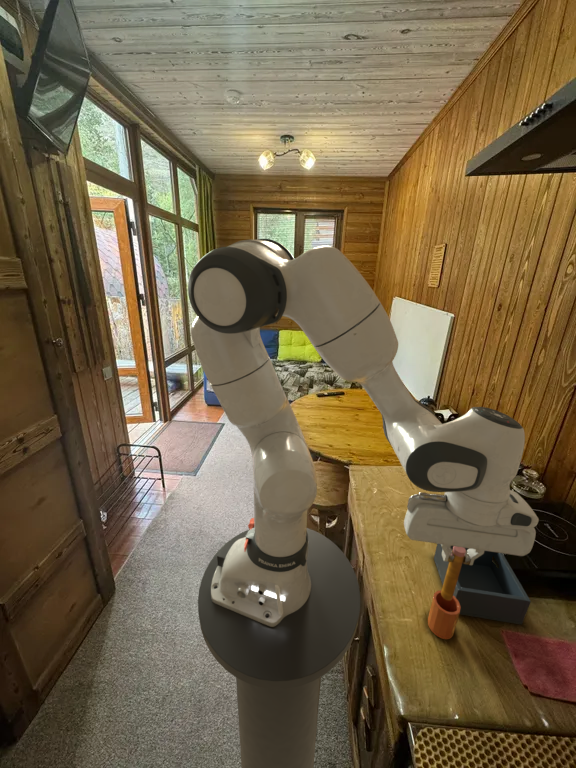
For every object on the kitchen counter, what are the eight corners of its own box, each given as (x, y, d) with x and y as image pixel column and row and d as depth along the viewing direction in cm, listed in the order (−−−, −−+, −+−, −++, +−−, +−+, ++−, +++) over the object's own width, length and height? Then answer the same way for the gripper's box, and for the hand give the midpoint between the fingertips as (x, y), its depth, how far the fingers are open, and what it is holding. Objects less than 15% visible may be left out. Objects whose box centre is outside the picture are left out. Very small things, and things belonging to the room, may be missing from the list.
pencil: (442, 599, 59) (455, 552, 55) (439, 589, 61) (452, 543, 57) (453, 601, 59) (467, 553, 55) (450, 591, 61) (463, 544, 57)
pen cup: (431, 637, 61) (437, 612, 58) (424, 612, 65) (430, 588, 63) (457, 641, 60) (464, 617, 58) (448, 616, 65) (455, 592, 62)
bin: (451, 613, 65) (458, 590, 63) (433, 558, 78) (438, 537, 76) (521, 624, 63) (531, 601, 61) (491, 567, 76) (498, 545, 74)
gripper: (414, 503, 51) (401, 566, 55) (550, 521, 48) (525, 585, 53) (406, 480, 57) (395, 538, 61) (527, 494, 54) (506, 554, 58)
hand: (456, 560), depth 57 cm, fingers closed on pencil, 2 cm apart
